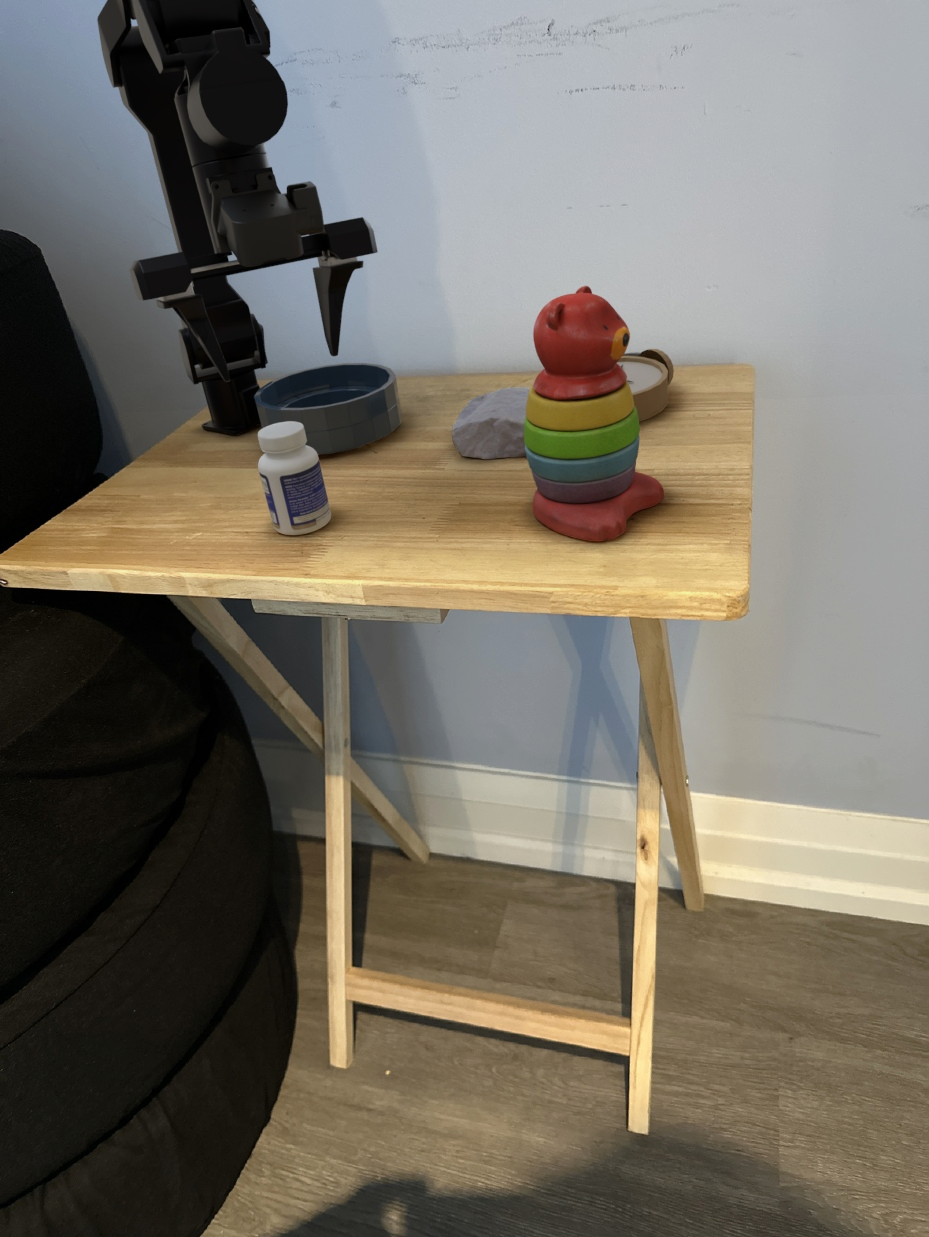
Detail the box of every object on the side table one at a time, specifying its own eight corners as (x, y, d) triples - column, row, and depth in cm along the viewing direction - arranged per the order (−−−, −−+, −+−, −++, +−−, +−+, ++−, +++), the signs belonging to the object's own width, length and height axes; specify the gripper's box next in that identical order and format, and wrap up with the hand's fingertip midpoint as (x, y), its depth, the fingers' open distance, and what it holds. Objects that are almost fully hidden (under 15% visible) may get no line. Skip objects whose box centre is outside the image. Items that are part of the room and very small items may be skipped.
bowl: (238, 448, 102) (225, 400, 99) (334, 403, 112) (325, 358, 109) (334, 469, 93) (323, 417, 91) (430, 418, 103) (423, 369, 100)
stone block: (454, 476, 92) (550, 454, 89) (439, 431, 90) (537, 407, 87) (477, 436, 102) (565, 415, 99) (464, 395, 100) (553, 372, 97)
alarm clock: (544, 399, 95) (586, 331, 105) (550, 440, 98) (590, 371, 108) (652, 401, 91) (685, 331, 100) (655, 445, 94) (687, 372, 104)
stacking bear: (609, 547, 72) (599, 316, 63) (504, 524, 78) (481, 309, 69) (673, 493, 79) (672, 278, 70) (572, 475, 85) (559, 274, 76)
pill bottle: (341, 511, 84) (322, 418, 80) (315, 538, 80) (293, 441, 76) (290, 509, 86) (268, 418, 82) (262, 535, 82) (238, 440, 77)
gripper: (110, 172, 61) (181, 408, 67) (377, 128, 66) (419, 350, 72) (102, 185, 70) (165, 390, 77) (335, 146, 76) (375, 341, 82)
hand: (281, 368), depth 77 cm, fingers open, 9 cm apart
